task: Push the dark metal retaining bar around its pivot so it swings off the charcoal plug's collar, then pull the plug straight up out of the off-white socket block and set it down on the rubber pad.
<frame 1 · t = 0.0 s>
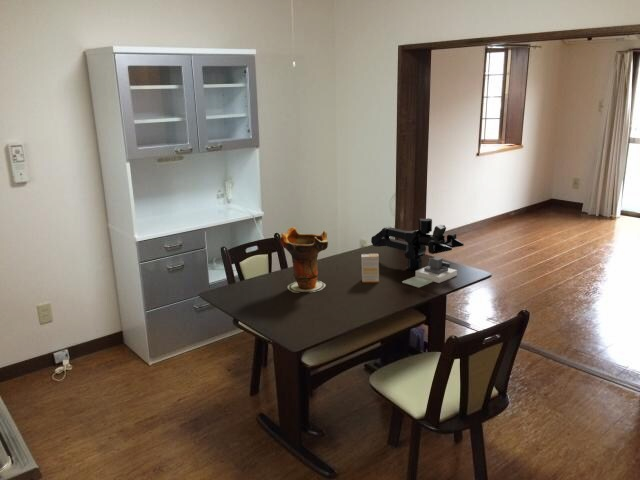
hand: (457, 246, 252), 17 cm above the table, tool horizontal, fingers open, 9 cm apart
plug: (436, 275, 262), resting in socket block
retaining bar: (439, 264, 263), point 5 cm above the table, hinge at 0.0°
supplement box: (370, 281, 260), on the table
socket block: (436, 276, 263), on the table
pad: (417, 282, 255), on the table
decorative vase: (306, 286, 257), on the table
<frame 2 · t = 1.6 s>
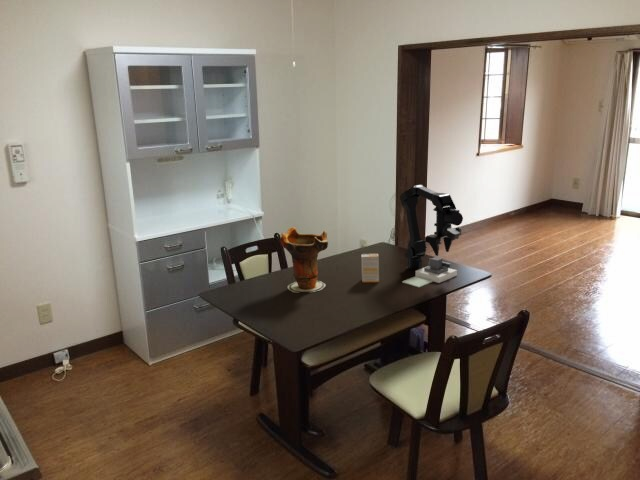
hand: (442, 253, 254), 13 cm above the table, tool pointing down, fingers open, 8 cm apart
nothing on the table moved.
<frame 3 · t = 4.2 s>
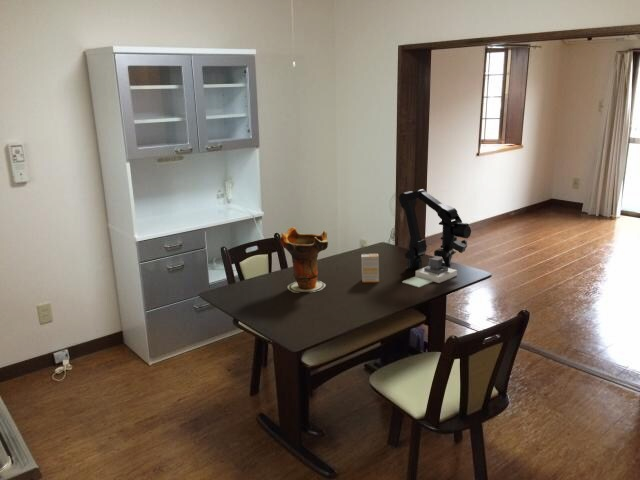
hand: (447, 266, 259), 6 cm above the table, tool pointing down, fingers closed
retaining bar: (439, 264, 264), point 5 cm above the table, hinge at 1.9°, touching gripper
everything else where it was.
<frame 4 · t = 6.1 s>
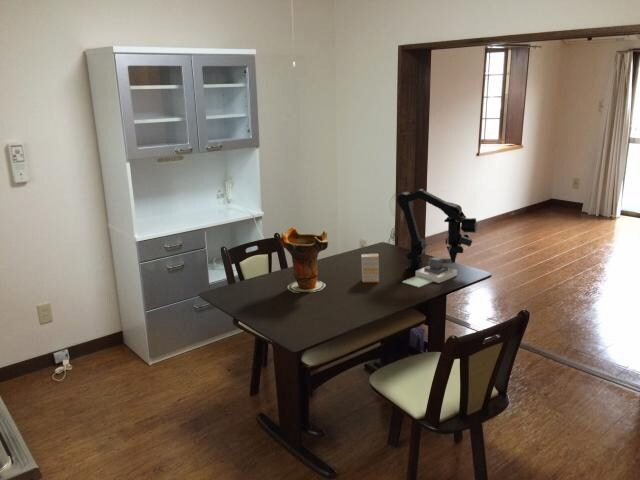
hand: (453, 262, 264), 6 cm above the table, tool pointing down, fingers closed
retaining bar: (441, 262, 267), point 5 cm above the table, hinge at 40.5°, touching gripper
everything else where it was.
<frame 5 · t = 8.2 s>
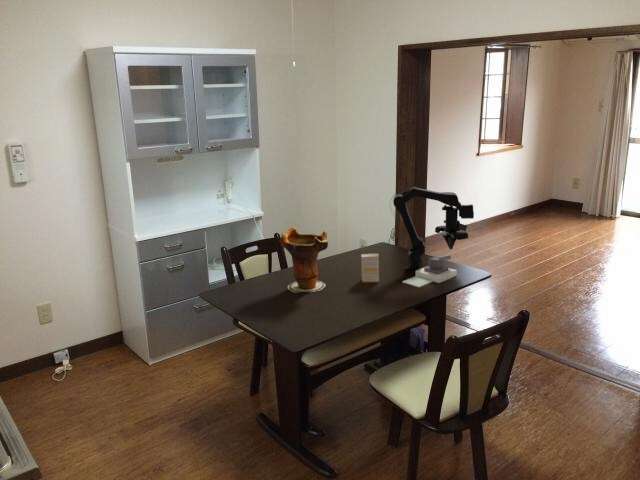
hand: (450, 249, 269), 10 cm above the table, tool pointing down, fingers closed
retaining bar: (439, 260, 270), point 5 cm above the table, hinge at 74.4°
everything else where it was.
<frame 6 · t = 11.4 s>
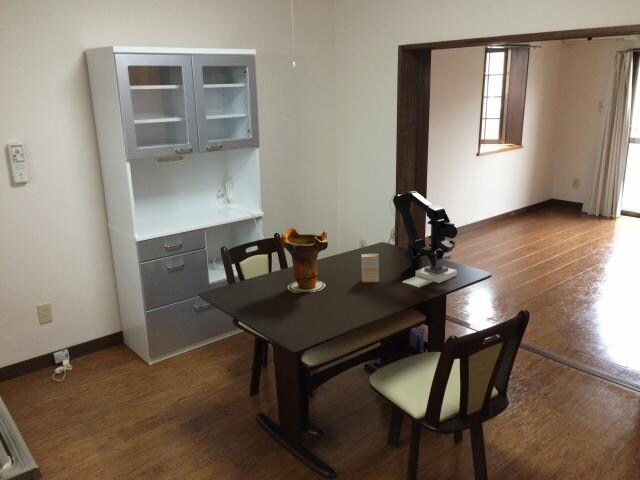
hand: (436, 265, 261), 6 cm above the table, tool pointing down, fingers closed on plug, 4 cm apart
plug: (436, 275, 262), resting in socket block, touching gripper
everything else where it was.
when the fingers open (7 cm above the table, at t = 15.4 s): plug stays where it is, resting on pad.
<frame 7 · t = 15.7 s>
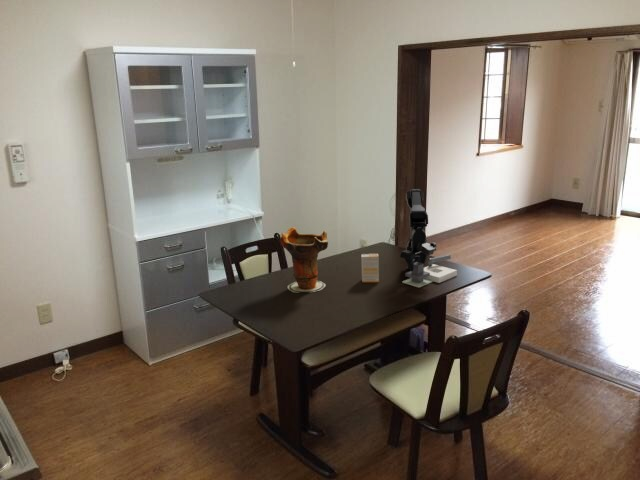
hand: (417, 268, 253), 7 cm above the table, tool pointing down, fingers open, 8 cm apart
plug: (417, 281, 255), point 1 cm above the table, touching pad
everything else where it was.
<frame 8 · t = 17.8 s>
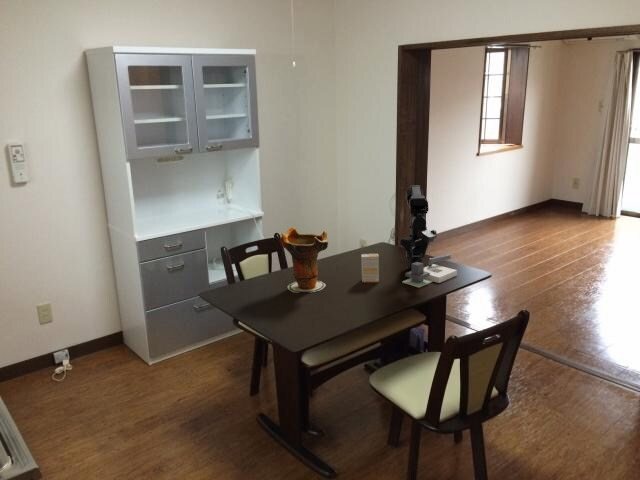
hand: (417, 256, 252), 13 cm above the table, tool pointing down, fingers open, 9 cm apart
nothing on the table moved.
at the end: retaining bar at +74° (first picture: +0°); plug inside the target area on the pad (0.1 cm from its centre), point 0.8 cm above the pad's base; plug tilted 0° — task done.
